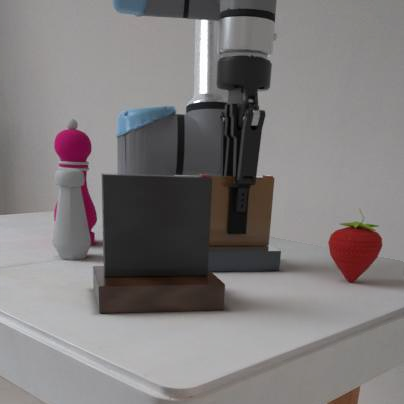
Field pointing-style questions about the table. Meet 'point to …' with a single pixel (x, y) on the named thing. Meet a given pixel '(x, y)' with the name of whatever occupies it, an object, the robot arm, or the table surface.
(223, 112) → the robot arm
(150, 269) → the dark grey flat slab
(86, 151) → the pepper mill
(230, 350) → the table surface
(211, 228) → the tan flat block
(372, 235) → the strawberry
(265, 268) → the slate stand
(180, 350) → the table surface
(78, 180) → the salt shaker
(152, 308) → the walnut stand
